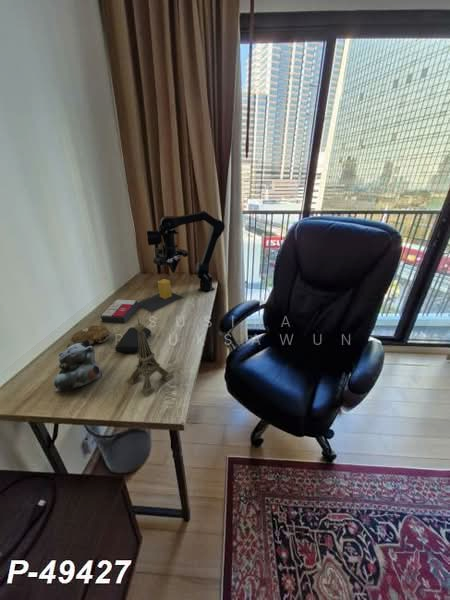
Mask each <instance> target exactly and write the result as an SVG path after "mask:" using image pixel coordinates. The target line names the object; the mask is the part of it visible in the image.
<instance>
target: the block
mask: <svg viewBox="0 0 450 600" xmlns="http://www.w3.org/2000/svg"><path fill="white" fill-rule="evenodd" d="M157 287H158V294H160V297H161V298H164V299H167V298H169V297H171V296H172V293H173V292H172V286H171V280H169V279H166V278H163V279H160V280H158V281H157Z"/></svg>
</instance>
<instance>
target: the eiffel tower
mask: <svg viewBox="0 0 450 600" xmlns="http://www.w3.org/2000/svg"><path fill="white" fill-rule="evenodd" d="M136 319H137V324H135V325H134V326H135V329H137V330H138V343H139V351H138V354H136V355H137V356H136V358H137V359H138V363H137V365H135V366H136V369H135V370H134V371H133V372H132V374H131V375H130V377H129V378H128V379H127V382H129V383H130V384H132V385H133V384H135V383H136V382H138V381H139V380H140V376H141V375H142V376H143V377H144V378H145V379H144V383H143V386H142V389H141V393H142V394H143V395H144V396H145V397H148V396H150V395H151V394H152V393H154V392H155V390H154V388H153V387H152V382H151V379H150V378H151V376H152V375H153V374H154V373H156V372H157V373H159V374H160V375H161V378H162V379H163V380H165V381H166V382H168V381H170V380H171V379H172V378H174V377H175V375H174V374H172V373H171V372H169V371H167V370H166V369H165V368H163V367H162V366H161V364H160V363H158V362H157V361H156V358H155V357H154V356H155V355H156V354H155V353H154V352H153V351H152V350H151V347H150V345H149V342H148V338H147V339H146V336H145V333H144V331H143V328H146V326H144V324H143V323H142V322H140V319H139V317H138V315H136Z"/></svg>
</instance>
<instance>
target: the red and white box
mask: <svg viewBox="0 0 450 600" xmlns="http://www.w3.org/2000/svg"><path fill="white" fill-rule="evenodd" d="M138 303H139V302H138V300H133V299H116V300H115V301H114V302H113V303H112V304H111V305H110V306H109V307H108V308H107V309H106V310H105V311H104V312H103V313H102V314H101V315H100V319H101V322H102V323H114V324H116V323H117V324H125V323H126V322H127V321H128V319H130V317H131V316H132V315H133V313H134V312H135V311H136V310H137V309H138V308H139V306H138Z"/></svg>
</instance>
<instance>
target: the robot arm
mask: <svg viewBox="0 0 450 600" xmlns="http://www.w3.org/2000/svg"><path fill="white" fill-rule="evenodd" d="M202 221H204V222H206V223H207V224H209V225H210V226H209V236H208V239H207V243H206V245H205V249H204V252H203V255H202V259H201V261H200V262H196V266H195V267H194V270H195V274H196V276H197V277H198V279H199V288H198V291H201V292H204V293H209V292H211V291H214V290H215V288H214V287H213V277H212V275H211V274H210V262H211V260H212V258H213V254H214V251H215V248H216V245H217V242H218V240H219V238H220V237H221V236H222V234H223V232H224V230H225V227H226V224H225V223H224V221H223V220H220V219H219V218H214V217H213V216H212V215H210V214H209V213H208V212H207V211H205V210H201V211H199V212H192V213H188V214H184V215H176V216H175V215H164V216H162V217H161V219H160V225H159V226H158V228H157V229H156V230H146V236H147V238H146V239H147V245H148V246H156V245H161V244H162V243H163V245H162V246H161V248H160V247H156V248H154V253H155V255H156V257H153V260H152V261H153V264H155V265H157V266H164V265H166V264H167V266H168V267H169V270H170V272H171V273H172V274H174V273H175V272H176V270H177V267H178V265H179V263H180V262H181V258H180V256H182V257H183V258H186V257H189V252H188V250H187V249H182V248H181V249H177V248H178V247H179V246H178V244H176V236H175V235H178V234H179V232H178V230H177V229H176V228H178V227H180V226H183V225H187V224H192V223H197V222H202ZM157 255H158V256H157Z"/></svg>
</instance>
